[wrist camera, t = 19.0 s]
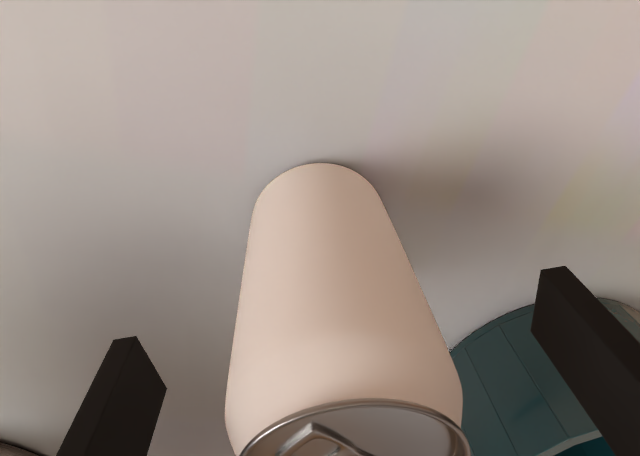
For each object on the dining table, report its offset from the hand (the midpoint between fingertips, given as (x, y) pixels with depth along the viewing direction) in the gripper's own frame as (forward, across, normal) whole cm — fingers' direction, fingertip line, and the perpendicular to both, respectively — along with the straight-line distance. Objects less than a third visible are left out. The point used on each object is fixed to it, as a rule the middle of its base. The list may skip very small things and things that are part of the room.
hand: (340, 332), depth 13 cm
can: (+8, 0, 0) cm, 8 cm away
